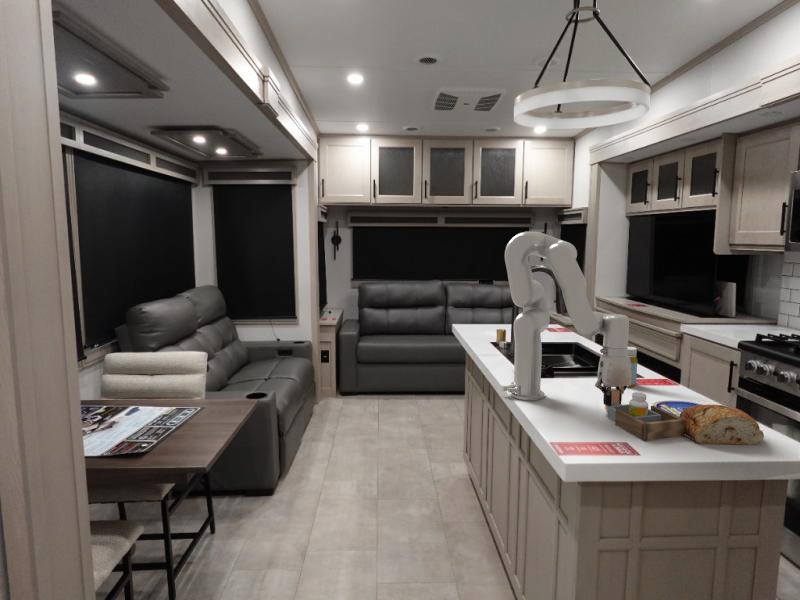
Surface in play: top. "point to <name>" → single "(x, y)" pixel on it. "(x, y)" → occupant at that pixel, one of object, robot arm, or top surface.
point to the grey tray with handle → (615, 405)
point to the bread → (720, 425)
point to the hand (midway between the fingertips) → (612, 404)
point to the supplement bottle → (638, 405)
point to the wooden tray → (652, 425)
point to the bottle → (633, 364)
